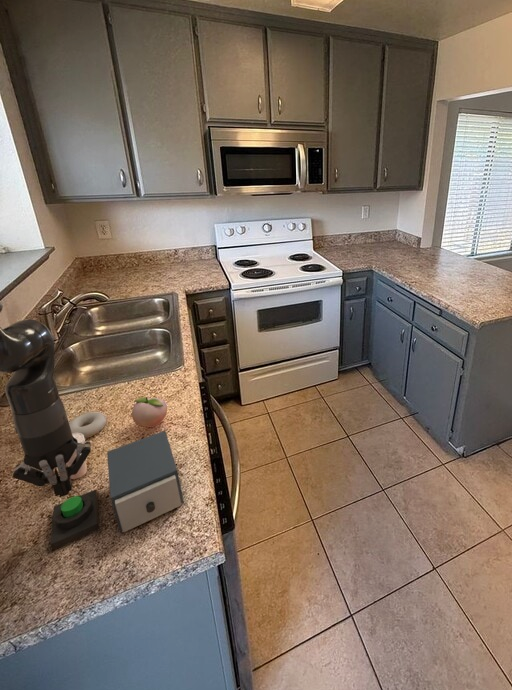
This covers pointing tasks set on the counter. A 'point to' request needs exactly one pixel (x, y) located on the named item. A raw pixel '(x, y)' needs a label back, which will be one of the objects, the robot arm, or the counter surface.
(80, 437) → the smoothie
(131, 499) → the drawer
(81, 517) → the control block
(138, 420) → the decorative fruit
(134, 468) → the cabinet
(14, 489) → the counter surface
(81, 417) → the donut
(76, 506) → the button
